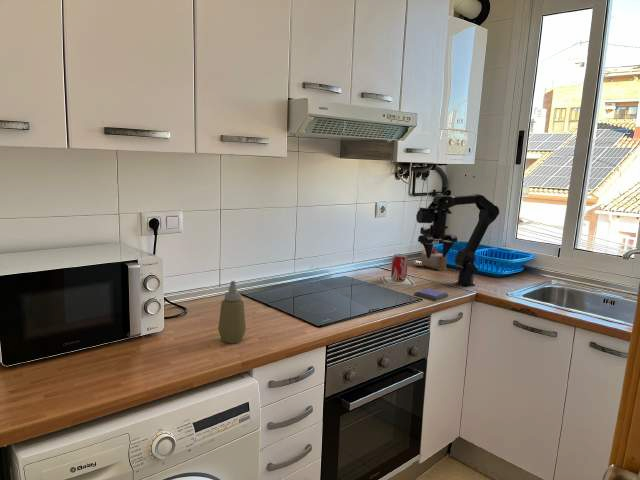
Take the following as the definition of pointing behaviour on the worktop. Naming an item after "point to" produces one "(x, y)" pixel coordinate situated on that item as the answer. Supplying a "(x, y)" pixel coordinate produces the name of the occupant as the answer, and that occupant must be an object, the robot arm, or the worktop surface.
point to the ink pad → (431, 294)
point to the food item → (434, 260)
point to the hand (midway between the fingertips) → (436, 257)
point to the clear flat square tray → (390, 282)
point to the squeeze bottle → (232, 316)
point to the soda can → (399, 268)
